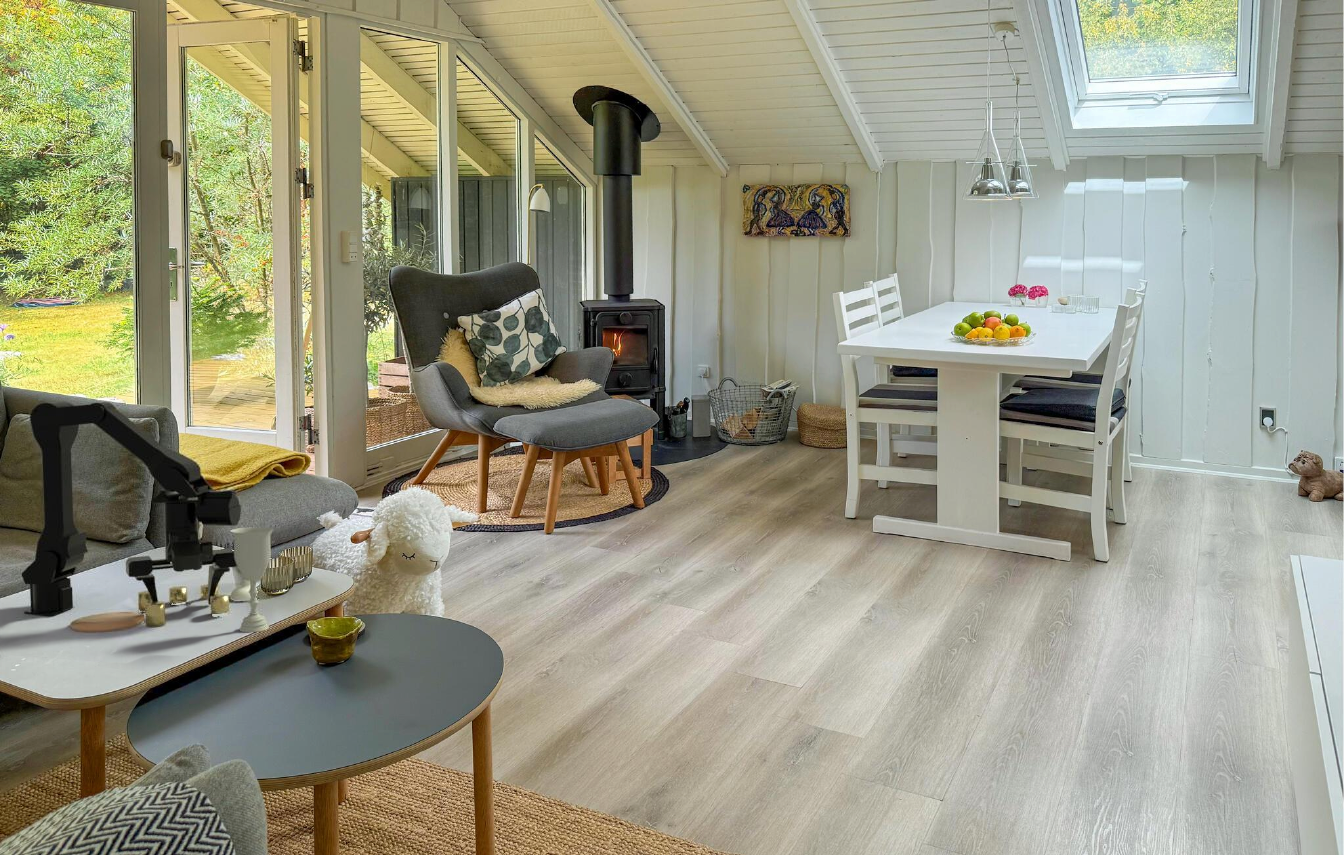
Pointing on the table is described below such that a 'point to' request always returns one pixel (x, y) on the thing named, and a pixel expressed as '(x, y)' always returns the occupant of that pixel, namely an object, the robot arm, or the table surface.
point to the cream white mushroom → (241, 591)
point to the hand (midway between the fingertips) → (183, 607)
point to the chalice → (252, 568)
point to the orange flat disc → (107, 622)
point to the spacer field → (178, 595)
